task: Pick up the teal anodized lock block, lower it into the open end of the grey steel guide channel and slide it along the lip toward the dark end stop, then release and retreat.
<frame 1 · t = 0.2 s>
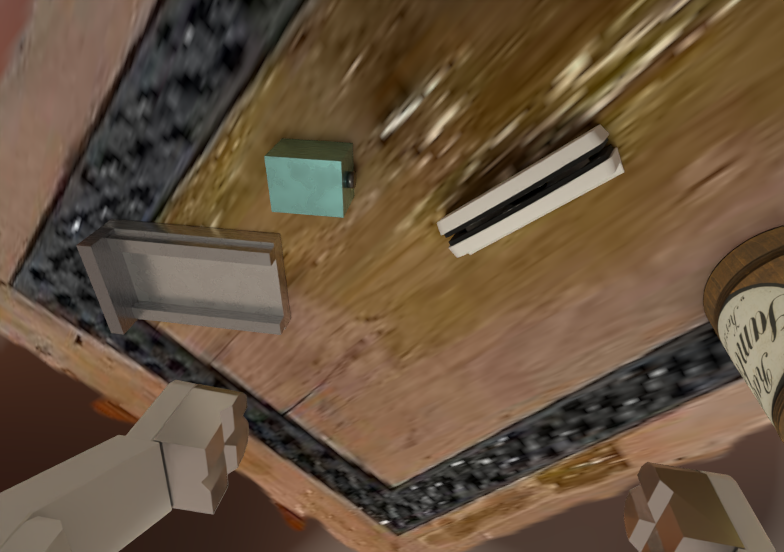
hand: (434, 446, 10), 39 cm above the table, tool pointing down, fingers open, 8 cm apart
lock block: (319, 167, 49), on the table
guide channel: (204, 270, 59), on the table
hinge: (522, 181, 47), on the table
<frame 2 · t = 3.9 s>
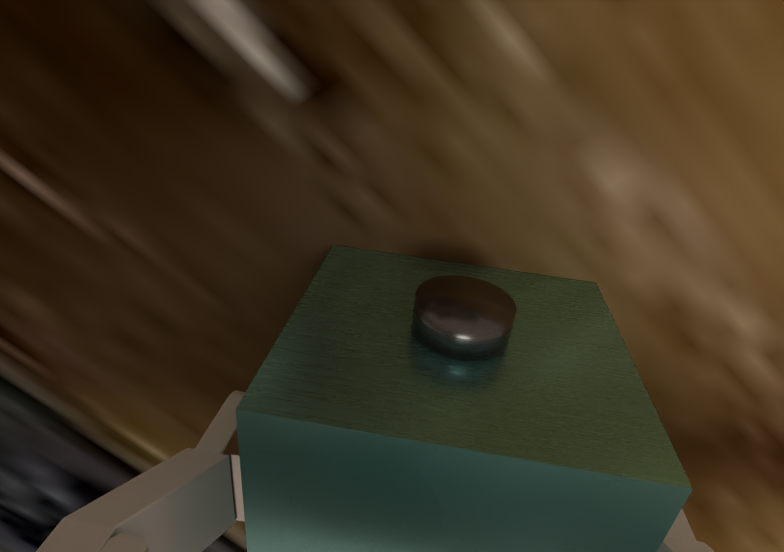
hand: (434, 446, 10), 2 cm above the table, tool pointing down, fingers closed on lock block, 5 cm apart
lock block: (439, 391, 12), on the table, touching gripper
when the fingers open (5 cm above the table, at t = 11.5 s): lock block drops 1 cm, resting on guide channel.
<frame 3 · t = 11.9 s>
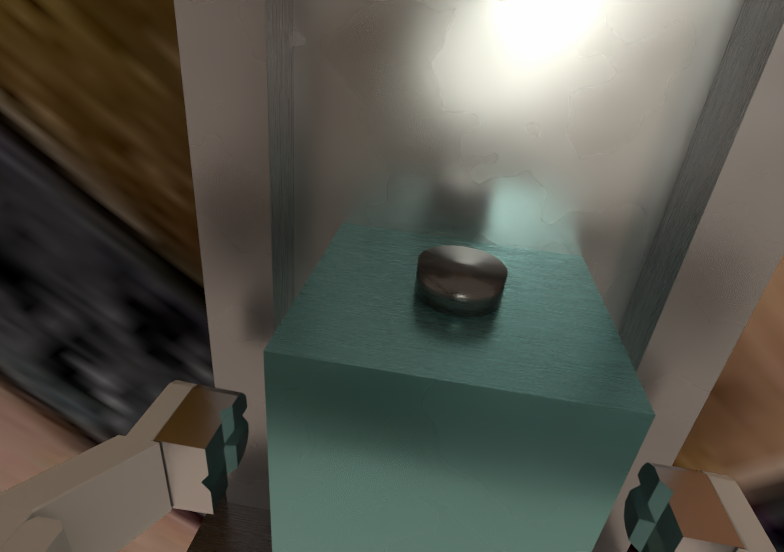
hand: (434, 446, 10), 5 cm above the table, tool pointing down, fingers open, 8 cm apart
lock block: (439, 360, 13), point 2 cm above the table, touching guide channel
guide channel: (462, 222, 13), on the table
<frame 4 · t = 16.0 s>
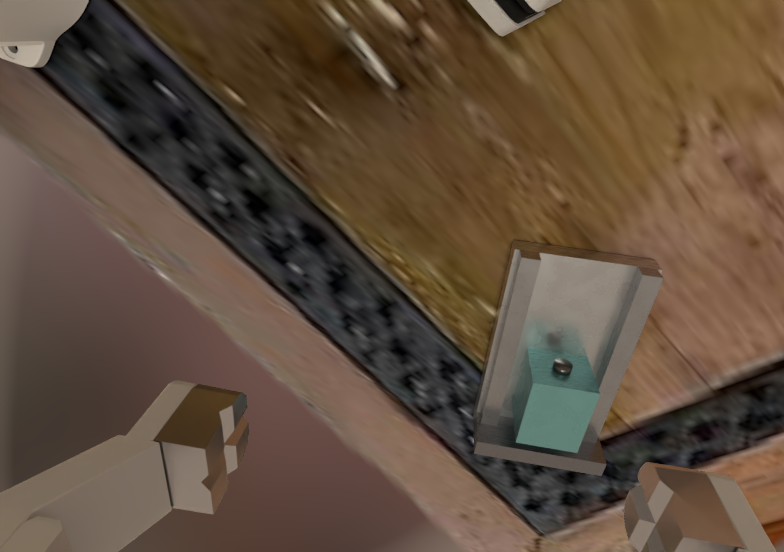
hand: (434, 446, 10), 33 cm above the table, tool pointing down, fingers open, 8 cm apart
lock block: (548, 381, 47), point 2 cm above the table, touching guide channel
guide channel: (554, 342, 47), on the table
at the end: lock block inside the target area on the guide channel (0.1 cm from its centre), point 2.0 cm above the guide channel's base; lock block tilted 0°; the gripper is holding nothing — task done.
